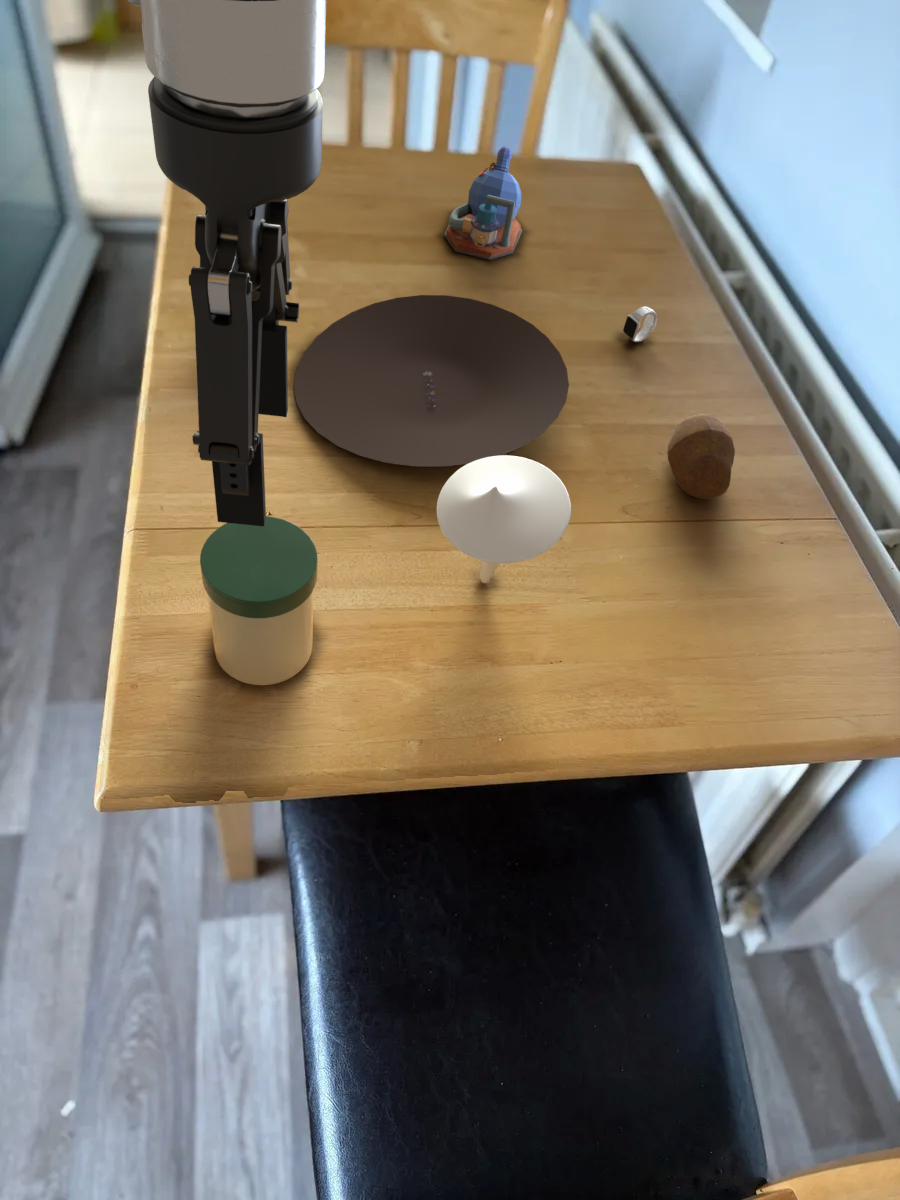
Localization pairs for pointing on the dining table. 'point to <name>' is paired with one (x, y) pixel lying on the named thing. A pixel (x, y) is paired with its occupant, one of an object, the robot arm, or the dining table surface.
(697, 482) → the potato
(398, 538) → the dining table surface
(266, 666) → the jam jar
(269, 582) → the jar lid
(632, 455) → the dining table surface
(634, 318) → the smartwatch
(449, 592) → the dining table surface
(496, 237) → the model
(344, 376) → the plate
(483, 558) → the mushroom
